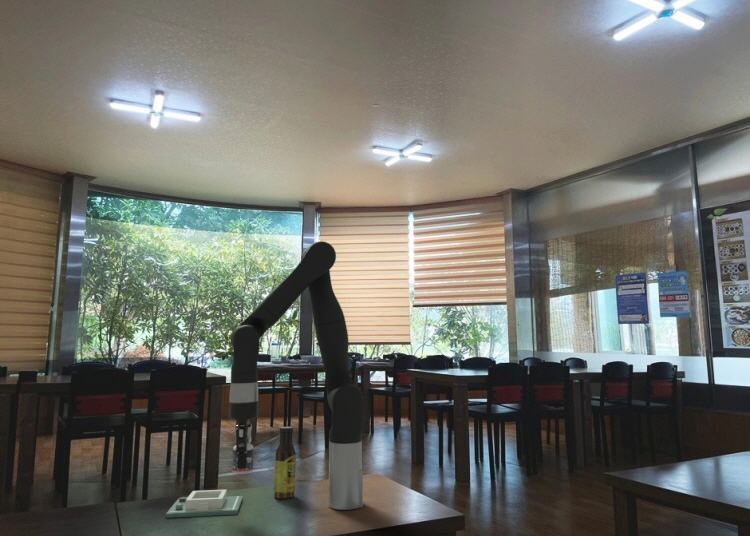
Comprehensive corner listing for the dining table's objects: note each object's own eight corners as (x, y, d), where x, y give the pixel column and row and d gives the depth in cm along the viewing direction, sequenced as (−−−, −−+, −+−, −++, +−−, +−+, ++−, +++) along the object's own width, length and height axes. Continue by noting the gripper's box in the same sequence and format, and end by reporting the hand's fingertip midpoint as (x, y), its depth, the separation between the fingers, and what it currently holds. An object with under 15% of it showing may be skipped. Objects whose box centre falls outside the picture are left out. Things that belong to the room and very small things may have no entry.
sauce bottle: (290, 500, 146) (291, 429, 150) (270, 499, 148) (272, 428, 151) (298, 494, 153) (299, 426, 156) (278, 493, 154) (280, 425, 157)
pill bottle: (234, 475, 130) (234, 439, 131) (230, 471, 134) (231, 436, 136) (255, 472, 132) (255, 437, 133) (250, 468, 136) (251, 434, 138)
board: (242, 499, 147) (243, 486, 148) (237, 514, 134) (237, 500, 134) (178, 502, 145) (178, 489, 145) (165, 517, 131) (166, 503, 132)
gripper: (256, 401, 130) (255, 471, 127) (260, 397, 144) (259, 459, 141) (226, 403, 128) (224, 473, 126) (232, 398, 142) (231, 461, 140)
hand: (243, 465), depth 133 cm, fingers closed on pill bottle, 5 cm apart
